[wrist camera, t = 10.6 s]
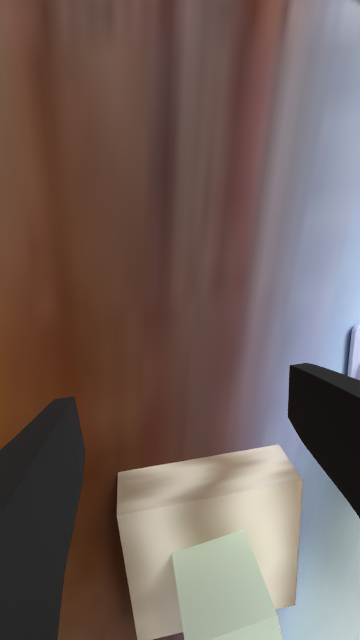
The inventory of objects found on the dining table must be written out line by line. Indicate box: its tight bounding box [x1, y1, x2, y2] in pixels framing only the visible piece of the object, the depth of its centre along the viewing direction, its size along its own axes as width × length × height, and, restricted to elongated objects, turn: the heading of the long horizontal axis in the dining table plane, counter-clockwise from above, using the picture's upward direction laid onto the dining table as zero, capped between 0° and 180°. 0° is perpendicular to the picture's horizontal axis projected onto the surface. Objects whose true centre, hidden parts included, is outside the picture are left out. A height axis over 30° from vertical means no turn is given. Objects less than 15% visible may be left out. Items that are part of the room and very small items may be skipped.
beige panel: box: [117, 445, 303, 640], centre depth 24 cm, size 12×12×4 cm
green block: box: [172, 529, 283, 640], centre depth 20 cm, size 5×5×5 cm
